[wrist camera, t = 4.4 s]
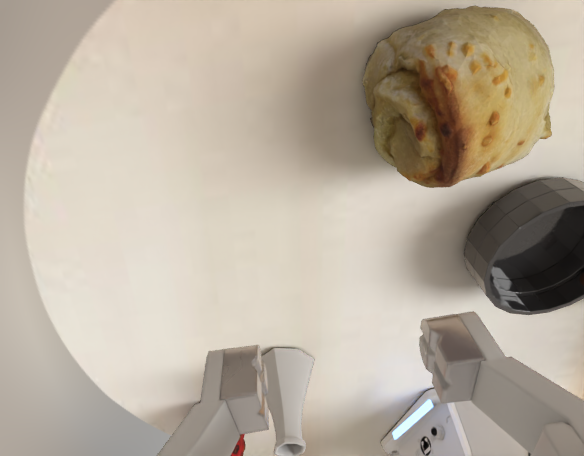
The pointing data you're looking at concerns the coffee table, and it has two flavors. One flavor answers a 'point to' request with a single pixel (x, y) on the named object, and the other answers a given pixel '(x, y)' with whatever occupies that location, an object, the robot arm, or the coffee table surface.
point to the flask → (287, 396)
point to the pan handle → (582, 279)
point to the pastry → (459, 94)
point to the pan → (531, 247)
